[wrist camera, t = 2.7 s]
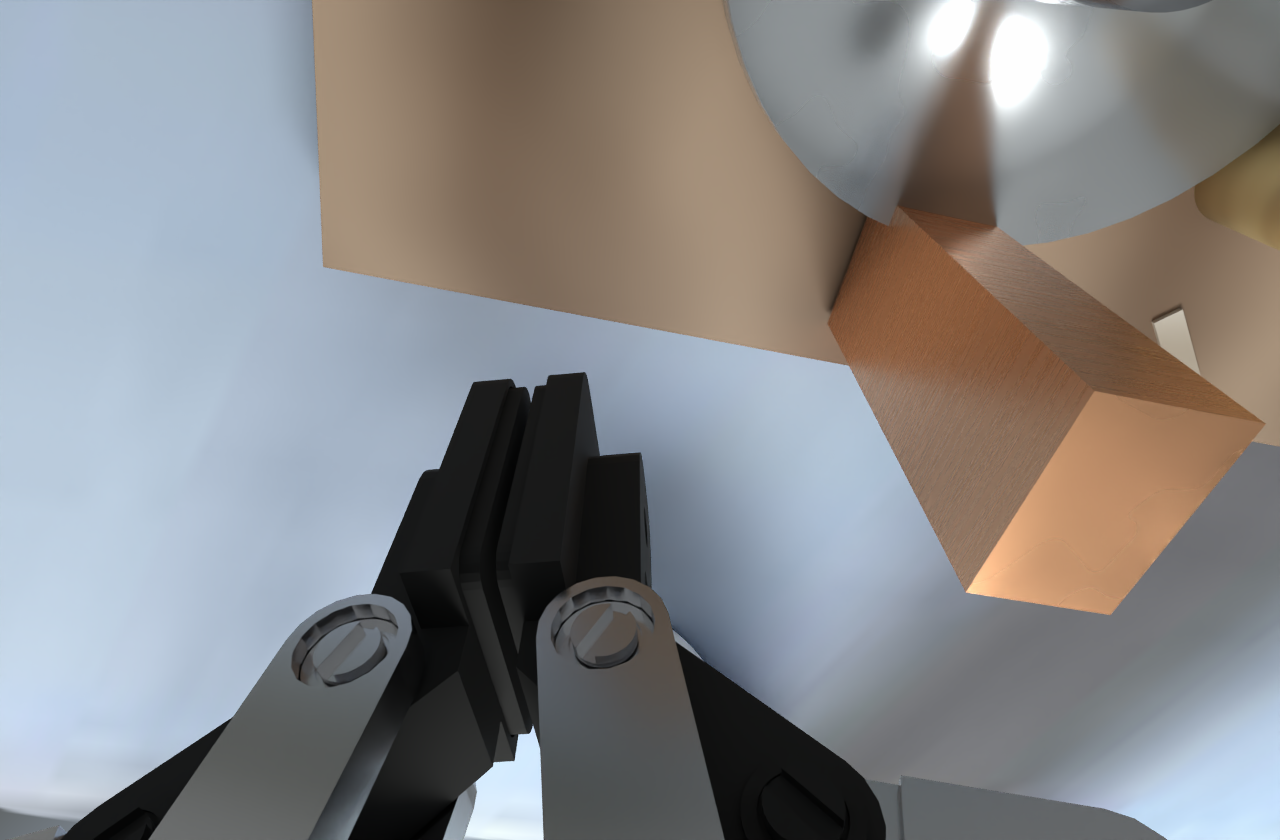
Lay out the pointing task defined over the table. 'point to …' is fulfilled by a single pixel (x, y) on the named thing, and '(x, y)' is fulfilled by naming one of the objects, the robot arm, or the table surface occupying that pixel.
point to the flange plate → (1020, 255)
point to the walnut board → (695, 188)
